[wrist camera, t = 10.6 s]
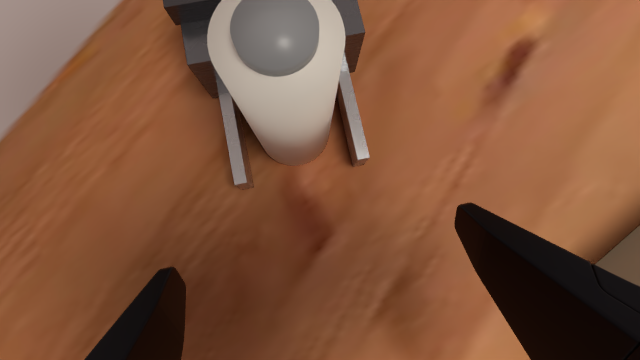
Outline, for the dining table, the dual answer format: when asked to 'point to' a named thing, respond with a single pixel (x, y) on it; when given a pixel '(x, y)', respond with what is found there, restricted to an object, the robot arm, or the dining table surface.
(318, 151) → the white capped bottle
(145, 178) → the dining table surface
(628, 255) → the rectangular open frame
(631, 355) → the robot arm
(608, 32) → the dining table surface
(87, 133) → the dining table surface
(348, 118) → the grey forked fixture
